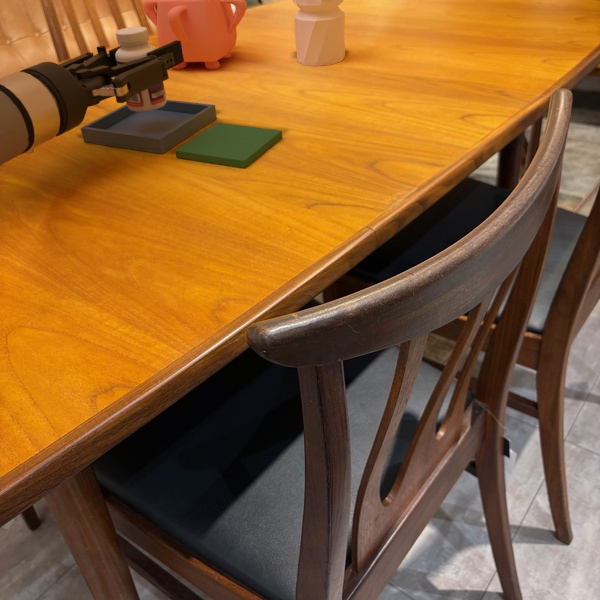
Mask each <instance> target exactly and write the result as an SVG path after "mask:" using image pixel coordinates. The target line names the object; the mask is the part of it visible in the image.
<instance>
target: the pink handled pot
mask: <svg viewBox="0 0 600 600" xmlns="http://www.w3.org/2000/svg"><path fill="white" fill-rule="evenodd" d="M232 5H233V6H234V8H235V9H234V10H233V8H232ZM247 6H248V4H247V1H246V0H144V1H143V2H142V9H143V12H144V14H145V16H146V17H147V18H148V19H149V20H150V22H151V23H152V24H153V25H154V26H156V34H157V43H158V48H160V47H162V46H164V45H167V44H169V43H171V42H173V41H176V40H178V41H181V46H182V52H183V58H184V62H182V63H180V64H178V65H176V66H174V67H172V68H171V69H173V70H174V69H175V70H176V69H177V70H178V69H179V70H180V69H184V68H187V66H188V63H204V66H205V69H207V70H215V69H219V68H220V67H221V65H220V62H219V61H220V60H221V59H222V60H223V59H229V58H232V55H231V52H232V51H233V50H234V48H235V47H236V43H237V37H238V31H237V27H238V25H239V24H240V23H241V21H242V20H243V18H244V16H245V14H246V12H247V8H248V7H247ZM155 7H156V8H157V9H155ZM233 11H234V12H233Z"/></svg>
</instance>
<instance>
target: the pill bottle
mask: <svg viewBox="0 0 600 600" xmlns="http://www.w3.org/2000/svg"><path fill="white" fill-rule="evenodd" d="M115 36H116V41H117V45H119V46H120V47H121V48H120V49H118V50H117V52H116V54H115V57H116V62H117V66H118V65H121V64H124V63H128V62H131V61H134V60H137V59H141V58H144V57H147V54H146V53H148V52H151V51H153V50H155V49H157V48H156V47H155V46H154V45H152V44H149V41H150V35H149V32H148V28H147V27H145V26H130V27H125V28H121V29H118V30H116V31H115ZM165 89H166V88H165V85H164V81H163V82H161V83H159V84H157V85H154V86H152V87H150V88H148V89H146V90H144V91H142V92H140V93H138V94H136V95H134V96H132V97H131V98H130V99H129V100H128V101H126V102H125V104H127V107H128V108H129V109H130V110H132V111H136V112H145V111H151V110H156V109H159V108H161V107H163V106H164V105H165V104H166V102H167V100H168V99H167V94H166V90H165Z"/></svg>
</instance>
